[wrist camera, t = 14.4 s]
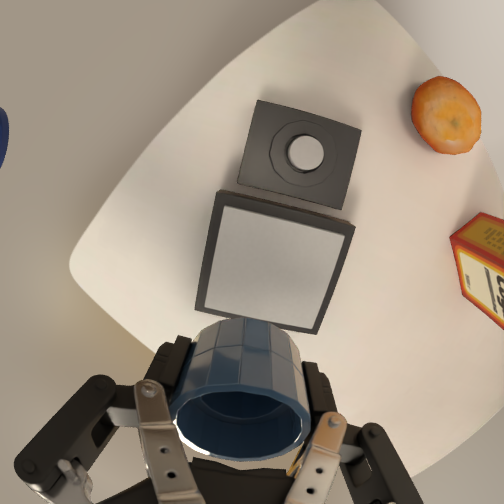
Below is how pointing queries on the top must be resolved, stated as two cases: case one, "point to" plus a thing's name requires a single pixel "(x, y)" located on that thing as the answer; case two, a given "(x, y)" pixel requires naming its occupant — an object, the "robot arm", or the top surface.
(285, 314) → the scale
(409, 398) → the top surface
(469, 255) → the baking soda box
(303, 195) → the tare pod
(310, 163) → the button
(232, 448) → the cup
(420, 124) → the fruit
